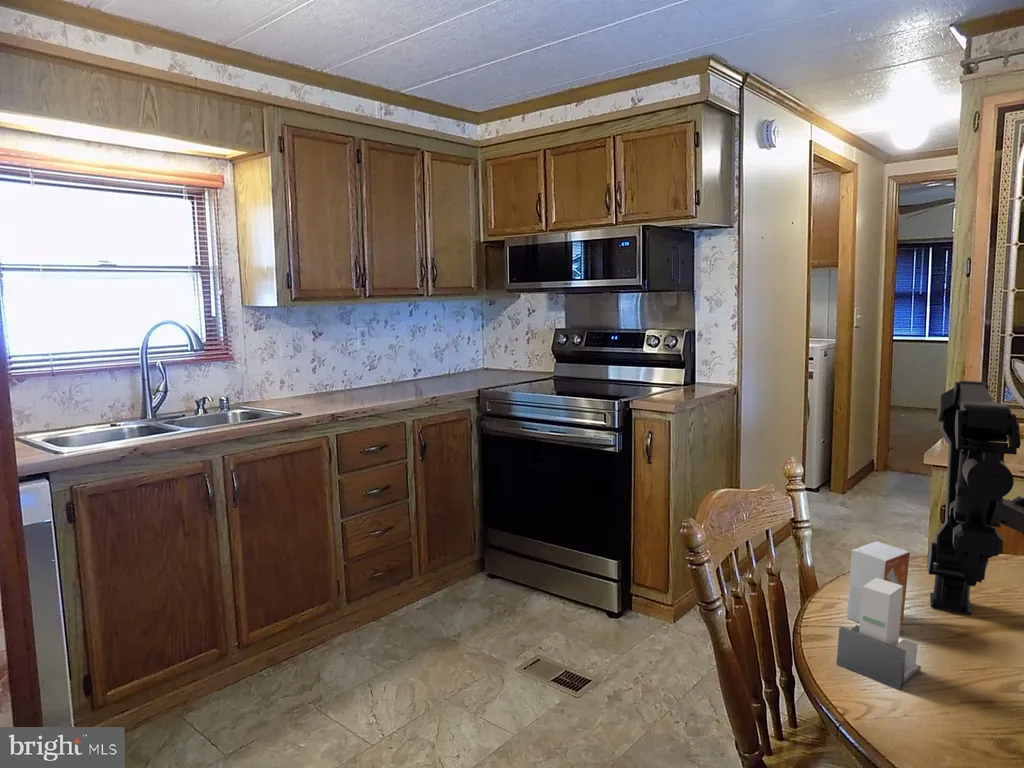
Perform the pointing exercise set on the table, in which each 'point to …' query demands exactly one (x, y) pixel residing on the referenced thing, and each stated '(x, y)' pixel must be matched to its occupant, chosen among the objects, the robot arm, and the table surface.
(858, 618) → the small box
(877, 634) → the block
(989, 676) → the table surface
